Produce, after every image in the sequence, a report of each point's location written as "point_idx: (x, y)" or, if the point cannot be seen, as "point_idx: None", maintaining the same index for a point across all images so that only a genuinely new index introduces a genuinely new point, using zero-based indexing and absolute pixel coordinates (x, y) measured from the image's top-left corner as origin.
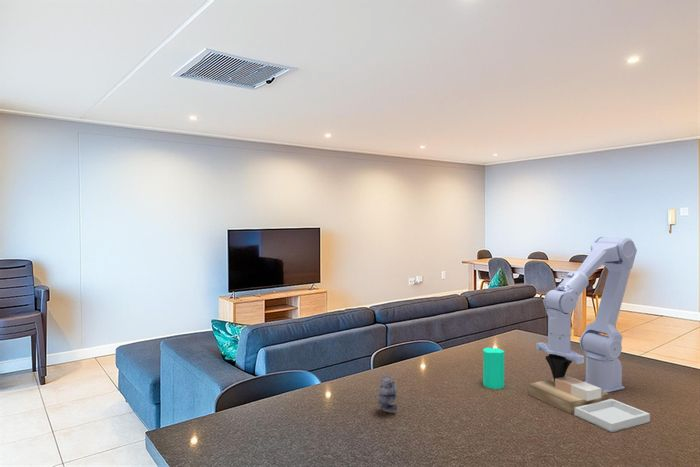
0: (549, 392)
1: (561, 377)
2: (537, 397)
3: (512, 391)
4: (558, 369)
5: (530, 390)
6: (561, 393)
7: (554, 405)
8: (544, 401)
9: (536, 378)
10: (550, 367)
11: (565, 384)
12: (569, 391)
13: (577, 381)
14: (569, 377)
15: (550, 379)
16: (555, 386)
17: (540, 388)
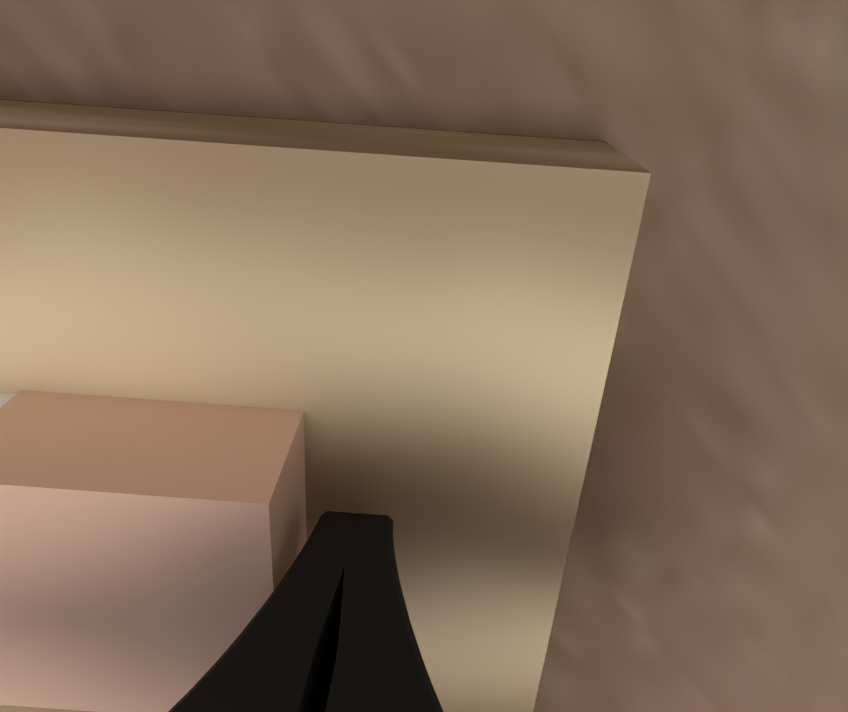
0: (167, 161)
1: None
2: (427, 131)
3: (835, 7)
4: (179, 704)
5: (576, 152)
6: (69, 296)
7: (118, 110)
8: (298, 121)
9: (832, 619)
10: (423, 699)
11: (45, 464)
12: (18, 408)
13: (37, 658)
14: None
15: (555, 588)
16: (292, 421)
17: (374, 176)
